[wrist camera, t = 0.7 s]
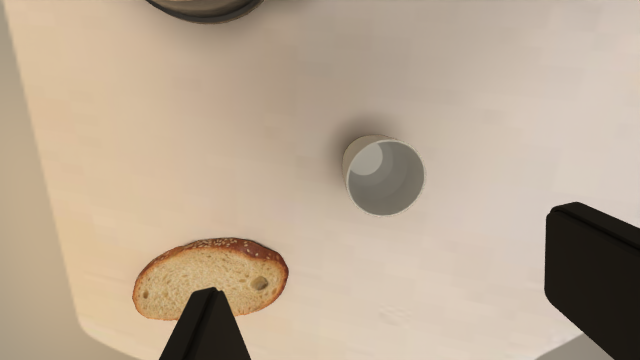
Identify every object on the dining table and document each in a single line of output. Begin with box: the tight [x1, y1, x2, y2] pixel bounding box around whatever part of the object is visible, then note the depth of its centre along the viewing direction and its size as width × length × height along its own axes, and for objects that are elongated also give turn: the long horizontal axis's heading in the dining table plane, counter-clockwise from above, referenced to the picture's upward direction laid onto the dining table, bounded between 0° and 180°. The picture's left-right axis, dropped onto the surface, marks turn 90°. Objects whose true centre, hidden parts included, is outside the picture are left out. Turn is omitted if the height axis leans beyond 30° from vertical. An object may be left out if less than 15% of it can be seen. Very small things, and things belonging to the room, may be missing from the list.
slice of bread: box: [132, 238, 289, 320], centre depth 42 cm, size 18×18×4 cm
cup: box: [342, 135, 426, 217], centre depth 35 cm, size 8×8×10 cm
